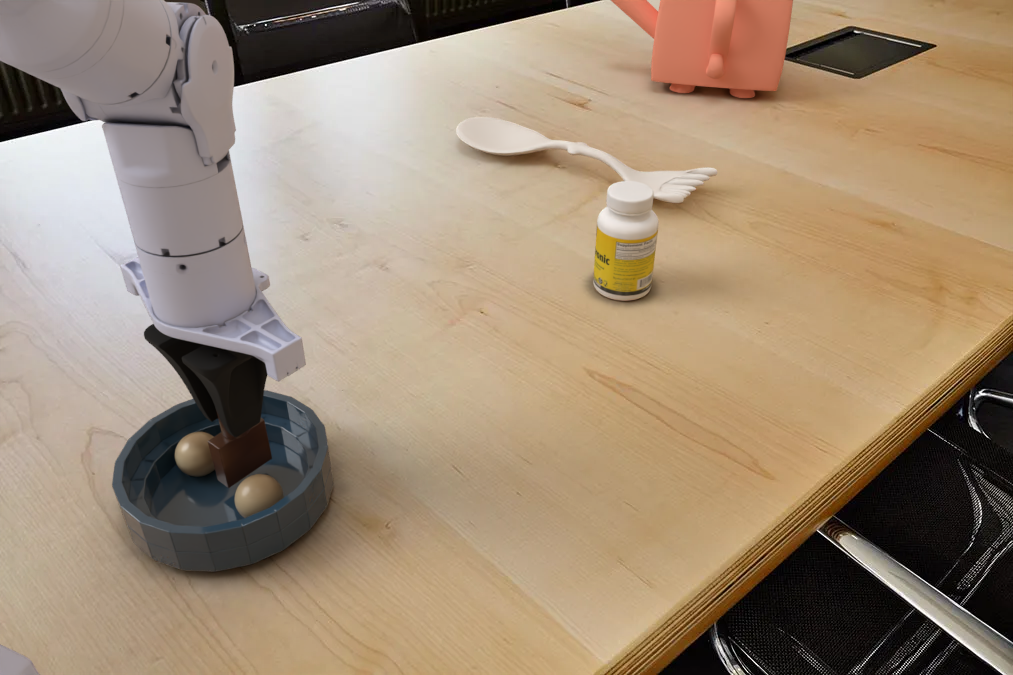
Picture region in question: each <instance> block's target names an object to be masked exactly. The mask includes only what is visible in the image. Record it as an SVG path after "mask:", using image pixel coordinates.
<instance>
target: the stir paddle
mask: <svg viewBox="0 0 1013 675" xmlns="http://www.w3.org/2000/svg"><path fill="white" fill-rule="evenodd" d="M216 412H217V410H216ZM217 416H218V420H219V424H220V428H221V433H220V434H218V435H216V436H215V437H213V438H212V439H210V440H208V445H209V449H210V453H211V456H212V460H213V464H214V468H215V471H216V475H217V479H218V481H220V482H221V483H222V484H224V485H225V486H226V487H228V488H230V487H231V486H233V485H234V484H236V483H237V482H239V481H240V480H241V479H243V478H244V477H246V476H247V475H249V474H250V473H252V472H253V471H255V470H256V469H258V468H259V467H260V466H262V465H263V464H265V463H266V462H268V461H269V460H271V459H272V455H271V450H270V445H269V440H268V435H267V431H266V426H265V421H264V419H262V418H261V420H260V423H258V424H257V425H255V426H253V427H252V428H250V429H249V430H247V431H246V432H244V433H243V434H241V435H239V436H238V437H233V436H232V435H230V434H229V433H228V432H227V430H226V429H225V428H224V426H223V424H222V422H221V420H220V418H219V415H218V413H217Z"/></svg>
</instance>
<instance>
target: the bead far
mask: <svg viewBox="0 0 1013 675" xmlns="http://www.w3.org/2000/svg"><path fill="white" fill-rule="evenodd" d="M213 437H214V436H212V435H210V434H208V433H205V432H193V433H190V434H188V435H186V436H185V437H183V438H182V439H181V440H180V441H179V443H178V445H177V447H176V449H175V461H176V464H177V466H178V467H179V469H180V470H181V471H182V472H184V473H185V474H187V475H190V476H194V477H200V476H205V475H207V474H210V473H211V472H213V471H214V470H215V468H214V464H213V460H212V456H211V453H210V449H209V445H208V440H210V439H212V438H213Z"/></svg>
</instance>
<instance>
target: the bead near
mask: <svg viewBox="0 0 1013 675" xmlns="http://www.w3.org/2000/svg"><path fill="white" fill-rule="evenodd" d="M283 498H284V495H283V490H282V487H281V485H280V484H279V483H278V481H277V480H275V479H274V478H273V477H271V476H269V475H265V474H256V475H252V476H249V477H247V478H246V479H245V480H243V481H242V482H241V483H240V485H239V486H238V488H237V490H236V493H235V506H236V509H237V511H238V512H239V513H240V515H241V516H242V517H244V518H246V517H248V516H251V515H253V514H255V513H258V512H260V511H262V510H265V509H267V508H270V507H271V506H273V505H274V504H276V503H277V502H278V501H280V500H281V499H283Z"/></svg>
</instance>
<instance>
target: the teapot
mask: <svg viewBox="0 0 1013 675" xmlns="http://www.w3.org/2000/svg"><path fill="white" fill-rule="evenodd" d="M610 1H611V2H612V3H613V4H614V5H615V6H616V7H617V8H618V9H620V10H621V11H622V12H623V13H624V14H625V15H626V16H627V17H628V18H630V20H632V21H633V23H635V24H636V25H637V26H639V28H641V29H642V30H643V32H645V33H647V35H648V36H650V37H651V38H652V39H653V44H652V54H651V62H650V63H651V64H650V66H651V68H650V70H651V71H650V79H651V82H656V83H665V84H670V86H669V90H670V91H672V92H674V93H678V94H689V93H693V92H694V91H695V89H696V86H697V87H707V88H708V87H709V88H720V89H729V94H730V95H731V96H733V97H735V98H740V99H751V98H754V97H755V96H756V92H755V91H764V92H777V90H778V87H779V84H780V80H781V78H782V74H783V70H784V64H785V61H786V60H785V59H786V53H787V48H788V42H789V41H788V40H789V34H790V28H791V20H792V12H793V6H794V5H793V4H794V0H659V5H658V9H657V8H656V7H654V5H652V4H651V2H649V1H648V0H610Z"/></svg>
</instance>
